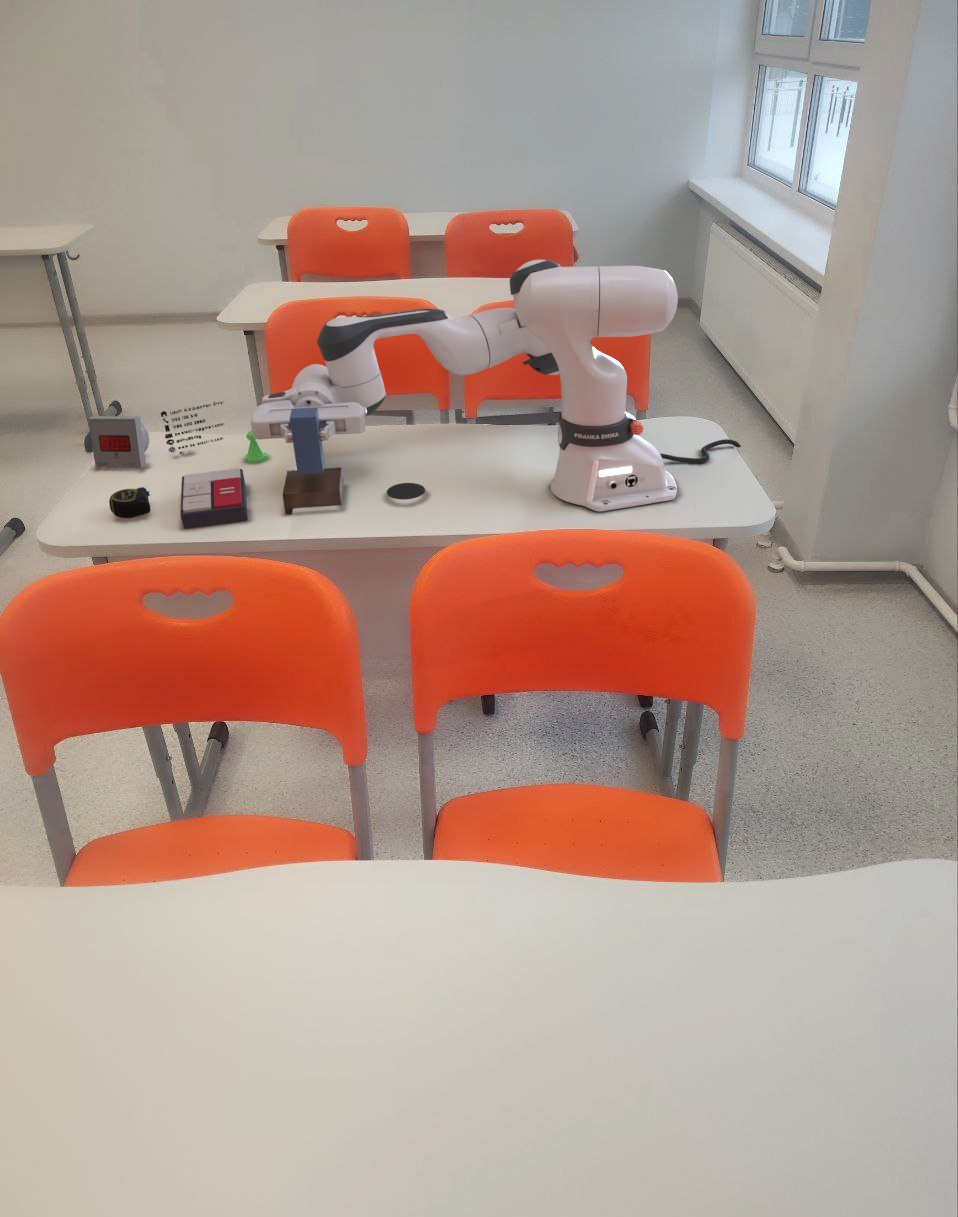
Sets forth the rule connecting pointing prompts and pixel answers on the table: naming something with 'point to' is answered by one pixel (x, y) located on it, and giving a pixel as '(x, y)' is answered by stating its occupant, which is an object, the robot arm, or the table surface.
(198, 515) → the calculator
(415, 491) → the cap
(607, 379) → the robot arm
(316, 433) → the block
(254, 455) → the game piece
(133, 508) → the tape measure
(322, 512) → the table surface
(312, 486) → the stand
